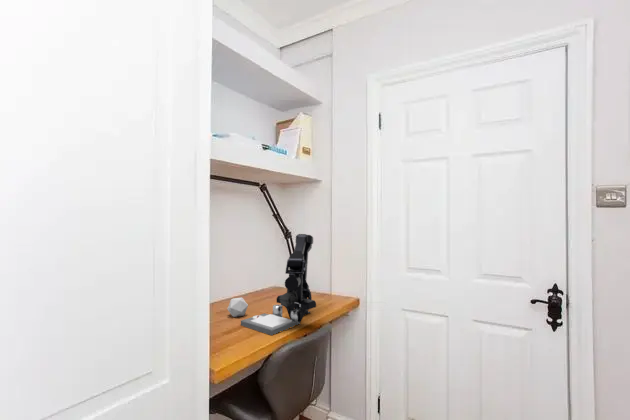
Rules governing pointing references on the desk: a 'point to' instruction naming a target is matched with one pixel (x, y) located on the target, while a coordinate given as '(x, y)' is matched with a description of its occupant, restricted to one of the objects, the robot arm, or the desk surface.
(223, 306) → the desk surface
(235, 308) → the die
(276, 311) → the spacer
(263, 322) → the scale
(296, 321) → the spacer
